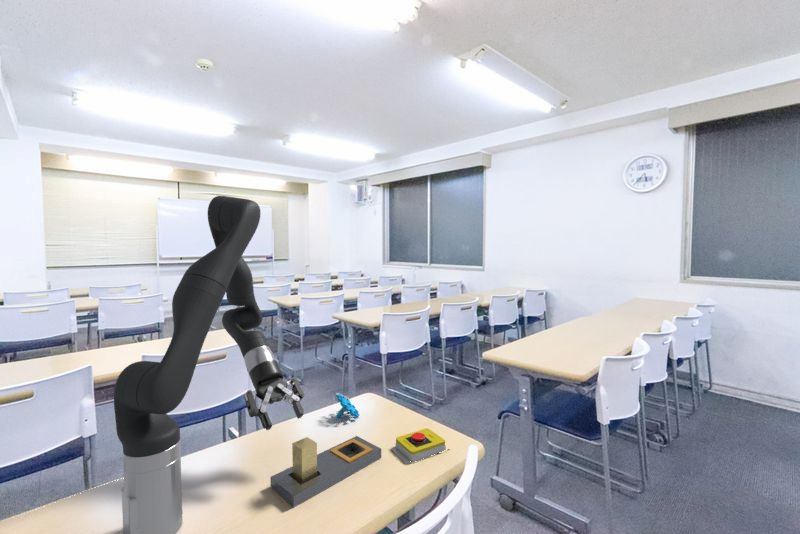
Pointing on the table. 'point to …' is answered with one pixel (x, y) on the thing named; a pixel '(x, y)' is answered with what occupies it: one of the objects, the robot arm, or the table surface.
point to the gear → (346, 406)
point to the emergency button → (418, 445)
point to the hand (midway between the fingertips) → (285, 422)
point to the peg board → (326, 470)
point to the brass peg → (304, 460)
